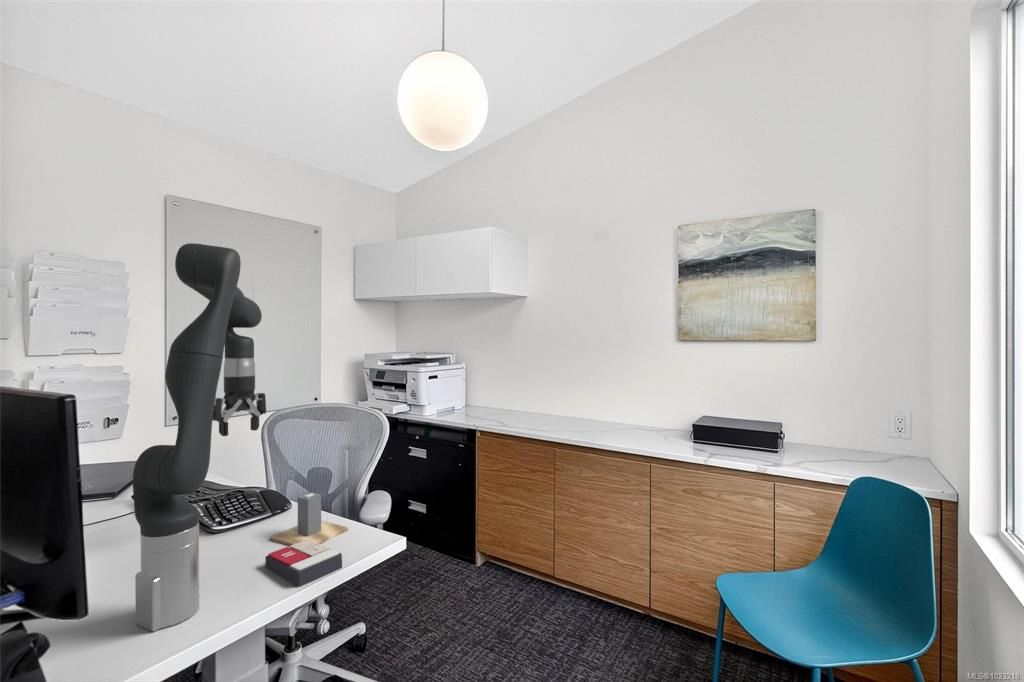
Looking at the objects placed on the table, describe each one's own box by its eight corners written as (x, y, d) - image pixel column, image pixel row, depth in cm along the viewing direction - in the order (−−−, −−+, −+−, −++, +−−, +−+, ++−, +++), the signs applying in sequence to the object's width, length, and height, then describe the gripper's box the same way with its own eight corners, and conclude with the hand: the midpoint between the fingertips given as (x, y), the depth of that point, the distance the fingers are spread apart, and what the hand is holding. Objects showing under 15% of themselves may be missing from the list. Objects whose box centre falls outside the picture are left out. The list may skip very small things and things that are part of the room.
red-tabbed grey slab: (308, 537, 118) (342, 550, 109) (308, 554, 118) (343, 568, 109) (264, 553, 110) (297, 568, 101) (264, 571, 110) (298, 588, 101)
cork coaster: (306, 550, 118) (306, 547, 118) (270, 540, 124) (270, 537, 124) (348, 530, 131) (348, 527, 131) (313, 521, 137) (313, 518, 137)
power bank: (308, 536, 125) (308, 498, 124) (297, 533, 126) (297, 496, 126) (321, 530, 128) (321, 493, 128) (311, 527, 130) (310, 491, 130)
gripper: (222, 376, 120) (222, 439, 120) (272, 373, 133) (272, 429, 133) (204, 375, 123) (205, 436, 123) (254, 372, 136) (255, 427, 136)
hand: (239, 432), depth 128 cm, fingers open, 8 cm apart
